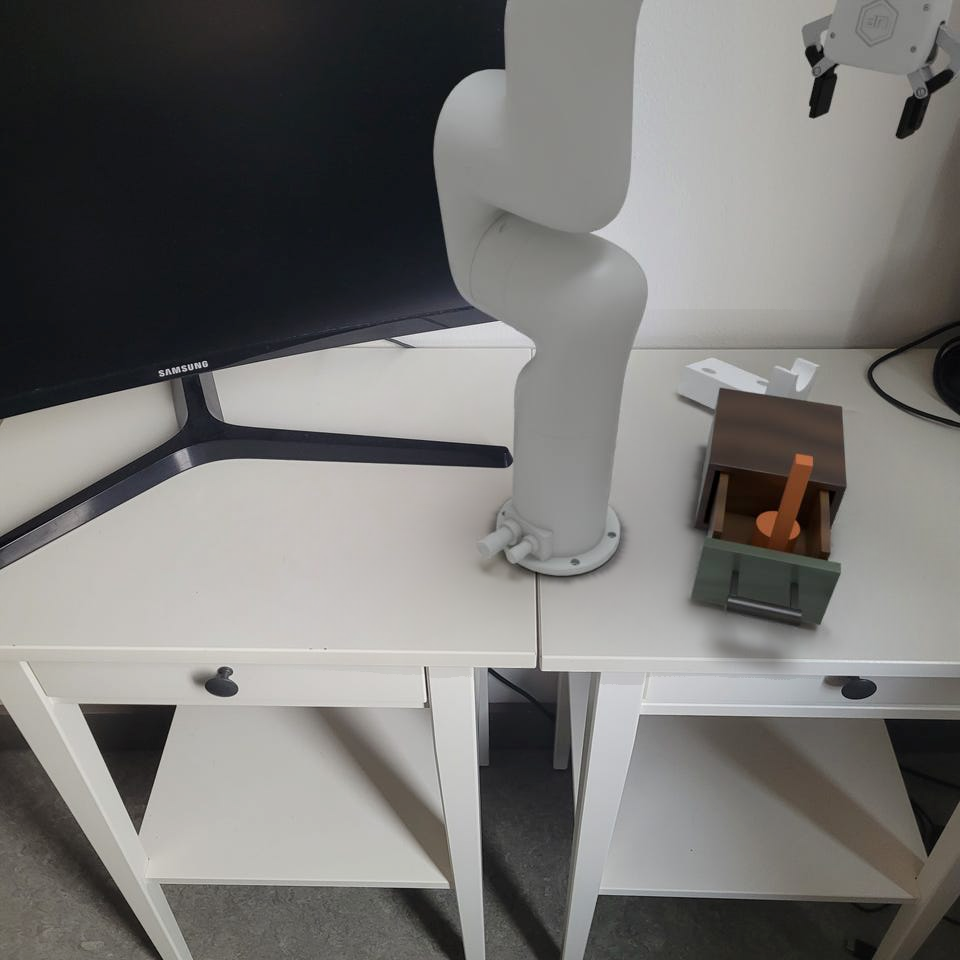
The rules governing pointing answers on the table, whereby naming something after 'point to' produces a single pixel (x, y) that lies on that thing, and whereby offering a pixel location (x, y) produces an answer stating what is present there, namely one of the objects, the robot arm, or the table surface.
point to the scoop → (784, 511)
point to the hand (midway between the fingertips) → (860, 125)
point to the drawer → (766, 555)
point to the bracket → (745, 380)
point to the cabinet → (773, 444)
